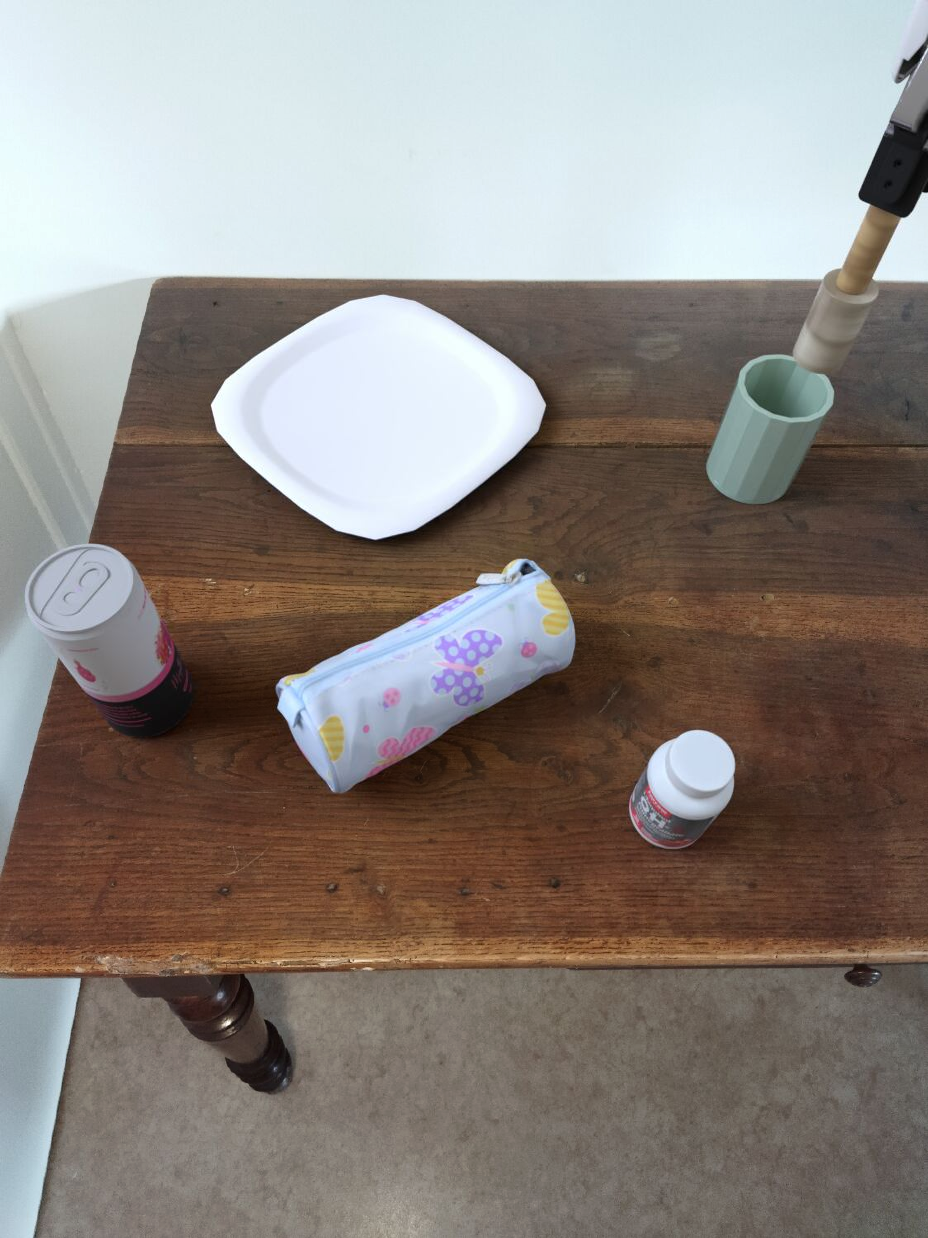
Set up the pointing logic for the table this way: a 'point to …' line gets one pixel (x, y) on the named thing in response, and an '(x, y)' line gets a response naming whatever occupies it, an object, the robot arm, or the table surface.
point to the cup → (767, 428)
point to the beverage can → (110, 638)
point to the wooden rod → (845, 298)
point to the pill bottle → (683, 789)
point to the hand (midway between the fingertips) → (896, 191)
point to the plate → (378, 415)
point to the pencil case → (427, 675)
